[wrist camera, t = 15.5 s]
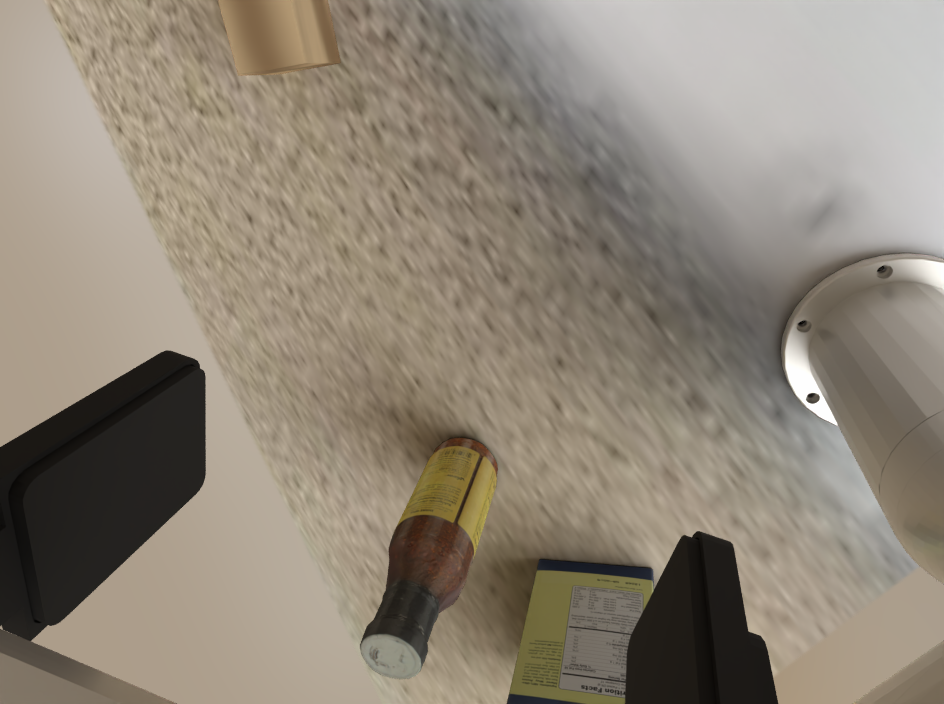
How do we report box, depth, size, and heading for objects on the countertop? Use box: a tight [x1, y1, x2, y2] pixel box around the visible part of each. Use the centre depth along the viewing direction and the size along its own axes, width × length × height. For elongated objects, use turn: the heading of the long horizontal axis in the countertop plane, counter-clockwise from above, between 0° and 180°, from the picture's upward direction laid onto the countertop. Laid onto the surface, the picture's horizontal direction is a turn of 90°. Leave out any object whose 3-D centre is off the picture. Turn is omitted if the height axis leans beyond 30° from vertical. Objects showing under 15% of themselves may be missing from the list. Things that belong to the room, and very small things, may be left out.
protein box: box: [507, 559, 654, 704], centre depth 51 cm, size 10×16×16 cm
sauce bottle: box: [360, 437, 498, 679], centre depth 45 cm, size 6×6×20 cm
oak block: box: [218, 0, 341, 76], centre depth 40 cm, size 5×5×5 cm
